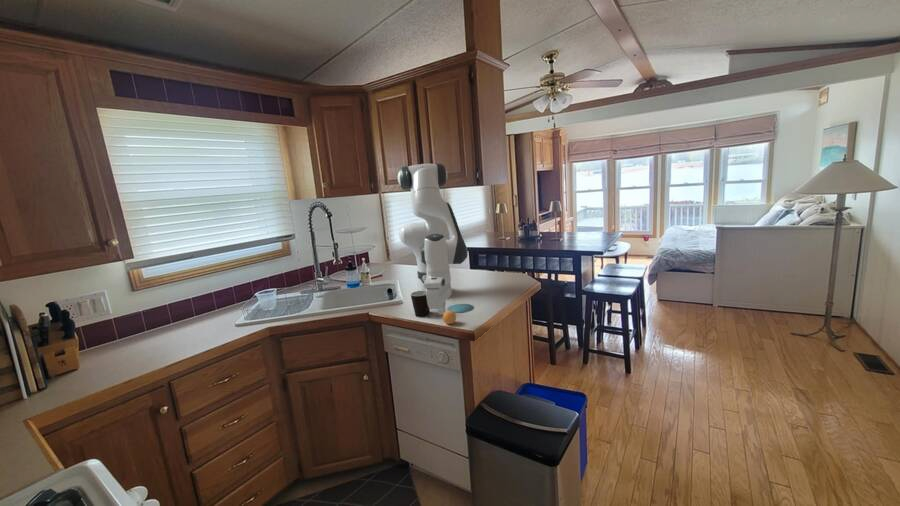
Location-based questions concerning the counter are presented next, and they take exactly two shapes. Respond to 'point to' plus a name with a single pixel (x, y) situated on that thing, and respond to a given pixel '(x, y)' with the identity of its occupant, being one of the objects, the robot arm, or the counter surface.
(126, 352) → the counter surface
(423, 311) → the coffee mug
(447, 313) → the ball
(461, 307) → the disc
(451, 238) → the robot arm
